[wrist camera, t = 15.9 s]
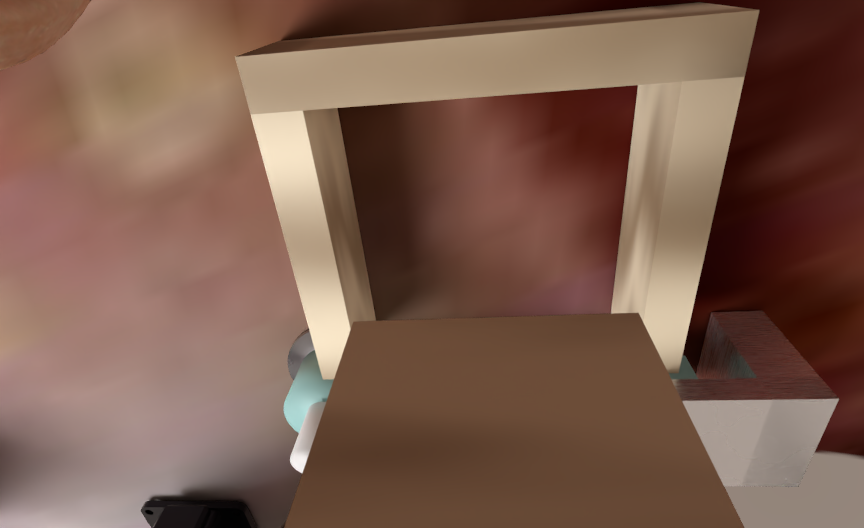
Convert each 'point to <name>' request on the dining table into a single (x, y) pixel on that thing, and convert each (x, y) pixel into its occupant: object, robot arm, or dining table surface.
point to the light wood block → (507, 430)
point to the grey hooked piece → (740, 400)
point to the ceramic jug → (34, 27)
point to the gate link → (313, 393)
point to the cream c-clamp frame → (506, 75)
